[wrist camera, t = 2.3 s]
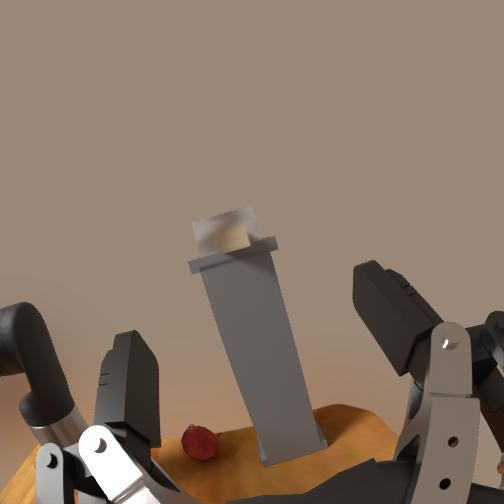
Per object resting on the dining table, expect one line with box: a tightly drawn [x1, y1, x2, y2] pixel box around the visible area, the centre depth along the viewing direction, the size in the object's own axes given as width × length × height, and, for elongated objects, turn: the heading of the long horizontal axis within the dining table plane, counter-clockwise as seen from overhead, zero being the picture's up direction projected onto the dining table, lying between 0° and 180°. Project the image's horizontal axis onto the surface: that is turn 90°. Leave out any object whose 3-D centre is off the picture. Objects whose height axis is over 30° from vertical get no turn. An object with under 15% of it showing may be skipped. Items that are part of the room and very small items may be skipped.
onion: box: [181, 424, 218, 460], centre depth 37 cm, size 6×6×8 cm
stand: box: [188, 236, 328, 467], centre depth 35 cm, size 10×6×32 cm, turn 95°
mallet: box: [192, 206, 261, 257], centre depth 30 cm, size 7×14×4 cm, turn 7°
